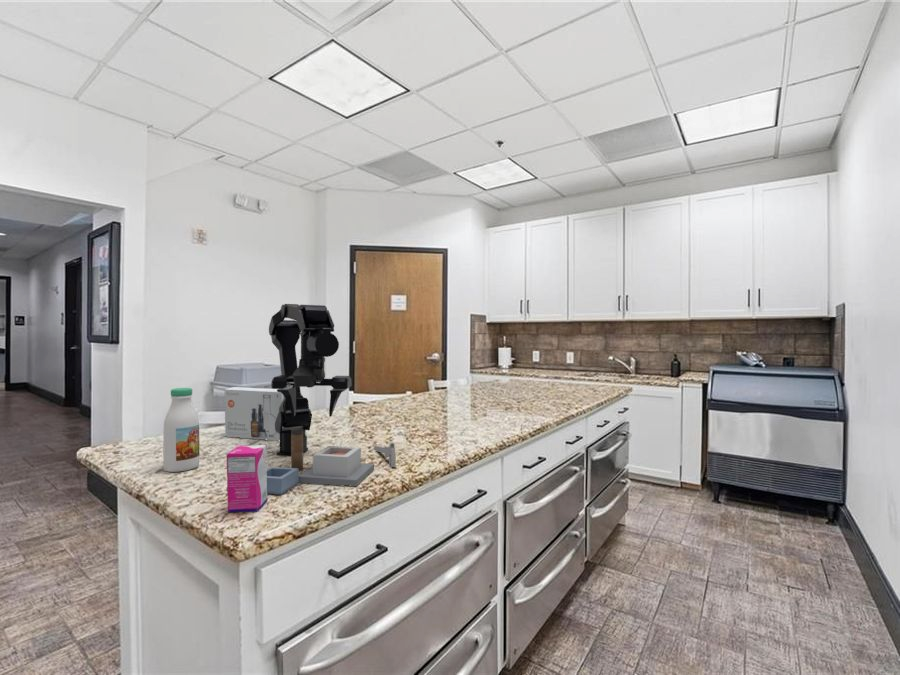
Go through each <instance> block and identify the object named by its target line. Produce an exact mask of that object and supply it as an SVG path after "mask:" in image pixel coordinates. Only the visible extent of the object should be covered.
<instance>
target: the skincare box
mask: <svg viewBox="0 0 900 675" xmlns="http://www.w3.org/2000/svg"><path fill="white" fill-rule="evenodd" d="M277 390H278V389H273V388H263V387H262V388H261V387H260V388H259V387H256V388H255V387H243V386H237V387H236V386H232V387H229V388H225V389H224V428H225V430H224V434H225V436H227V437H226V438H235V437H240V438H239V439H247V438H254V439H253V440H259V439H267V440H266V441H271V440H280V434H279V433H277V432H276V431H275V421H276V418H277V415H278V413H279V407H280V405H281V403H282V401H283V399H284V395H283V394H282V393H281V392H277ZM282 428H284V427H282Z"/></svg>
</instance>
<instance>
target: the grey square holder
mask: <svg viewBox="0 0 900 675" xmlns="http://www.w3.org/2000/svg"><path fill="white" fill-rule="evenodd" d="M332 453H345V455H334V454H332ZM373 470H374V471H375V464H374V463H363V462H362V447H360V446H359V447H358V446H343V445H342V446H339V445H337V446H336V445H327V446H326V447H325V448H323V449H321V450H319V451H318V452H316V453H314V454H312V467H310V468H308V469H307V470H305V471H303V472H302V473H301V474H299V484H306V483H310V484H309V485H321V484H329V485H328V486H336V485H351V486H357V485H358V484H359V483H360V482H361V481H362V480H363V479H364V478H365V477H366V476H367V475H368V474H369V475H371V474H372V473H373V472H374V471H373ZM369 475H368V476H369ZM368 476H367V477H368ZM367 477H366V478H367ZM366 478H365V479H366ZM365 479H364V480H365ZM364 480H363V481H364ZM363 481H362V482H363ZM362 482H361V483H362ZM361 483H360V484H361ZM360 484H359V485H360ZM359 485H358V486H359ZM351 486H350V487H351ZM358 486H357V487H358Z"/></svg>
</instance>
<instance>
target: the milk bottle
mask: <svg viewBox="0 0 900 675" xmlns="http://www.w3.org/2000/svg"><path fill="white" fill-rule="evenodd" d="M192 398H193V389H192V388H191V387H178V388H177V387H176V388H172V389H171V390H170V399H171V404H170V407H169V409H168V411H167V413H166V414H165V417H164V420H163V436H162V438H163V440H162V441H163V442H162V444H163V445H162V446H163V447H162V448H163V449H162V450H163V452H162V453H163V457H162V458H163V459H162V460H163V462H162V463H163V464H162V466H163V470H164V471H165V472H167V473H179V472H186V471H190V470H193V469H194V470H195V469H196V468H198V467H199V465H200V420H199V419H200V418H199V415H198V413H197V411H196V409H195V407H194V405H193V402H192Z"/></svg>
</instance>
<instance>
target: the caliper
mask: <svg viewBox="0 0 900 675" xmlns="http://www.w3.org/2000/svg"><path fill="white" fill-rule="evenodd" d="M373 450H376V451H375V452H379V453H382V454H384V456H385V457H386V458H388V464H389V465H390V466H389V467H390V468H391V467H394V468H396V464H397V463H396V462H397V461H396V460H397V459H396V458H397V456H396V447H395V442H394V443H393V442H390V443H388V445H386V446H383V445H374V447H373Z"/></svg>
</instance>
